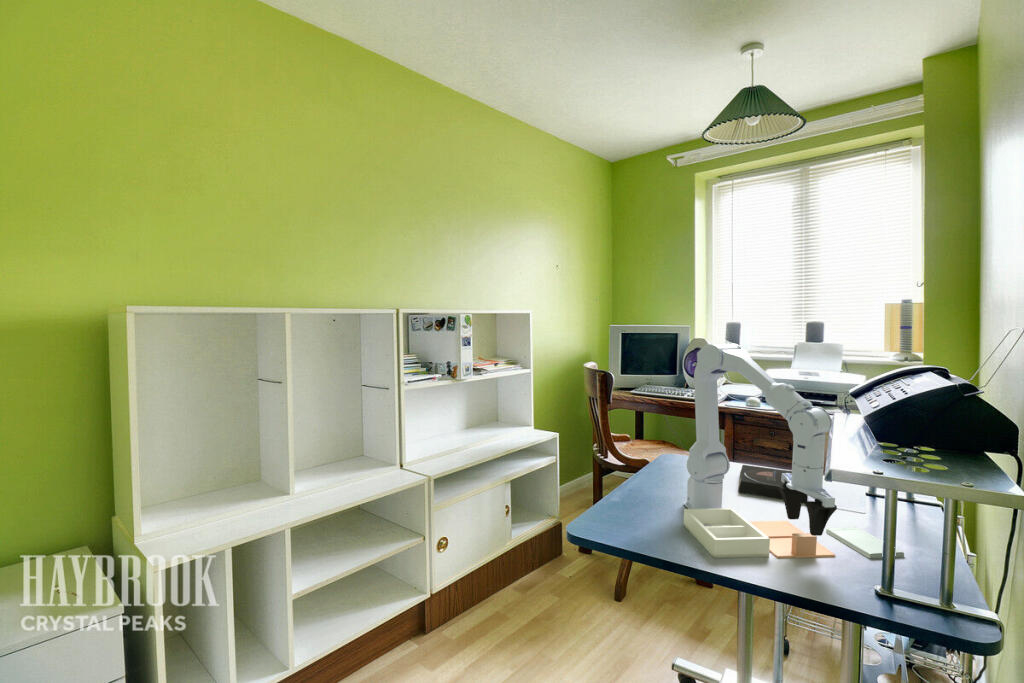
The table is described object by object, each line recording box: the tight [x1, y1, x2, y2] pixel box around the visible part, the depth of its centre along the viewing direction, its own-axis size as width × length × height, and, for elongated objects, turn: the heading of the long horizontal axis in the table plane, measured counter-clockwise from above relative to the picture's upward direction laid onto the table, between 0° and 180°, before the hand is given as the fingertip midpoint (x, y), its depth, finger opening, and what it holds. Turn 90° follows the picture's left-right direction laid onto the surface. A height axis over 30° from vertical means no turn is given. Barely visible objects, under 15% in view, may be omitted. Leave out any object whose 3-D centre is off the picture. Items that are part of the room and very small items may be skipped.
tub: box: [683, 507, 770, 559], centre depth 113 cm, size 16×12×4 cm
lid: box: [749, 520, 836, 559], centre depth 113 cm, size 17×13×5 cm
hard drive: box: [825, 526, 905, 559], centre depth 111 cm, size 2×8×12 cm
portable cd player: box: [738, 464, 809, 504], centre depth 145 cm, size 16×17×4 cm
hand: (804, 526), depth 106 cm, fingers open, 7 cm apart
